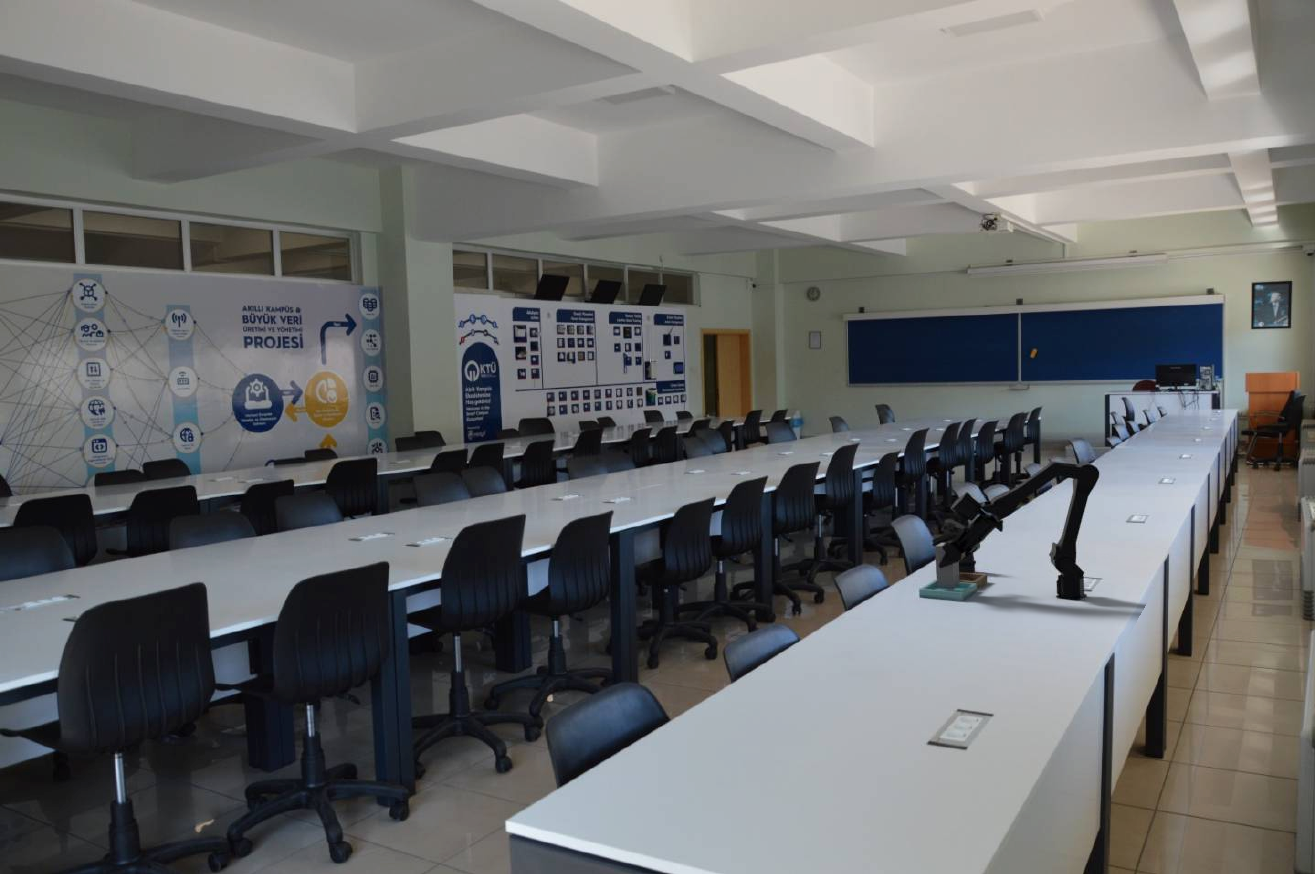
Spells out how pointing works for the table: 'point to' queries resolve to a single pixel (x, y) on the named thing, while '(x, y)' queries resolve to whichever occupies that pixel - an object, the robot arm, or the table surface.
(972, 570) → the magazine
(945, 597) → the teal tray
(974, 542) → the robot arm
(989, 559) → the table surface
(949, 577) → the grey lidded box
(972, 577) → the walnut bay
